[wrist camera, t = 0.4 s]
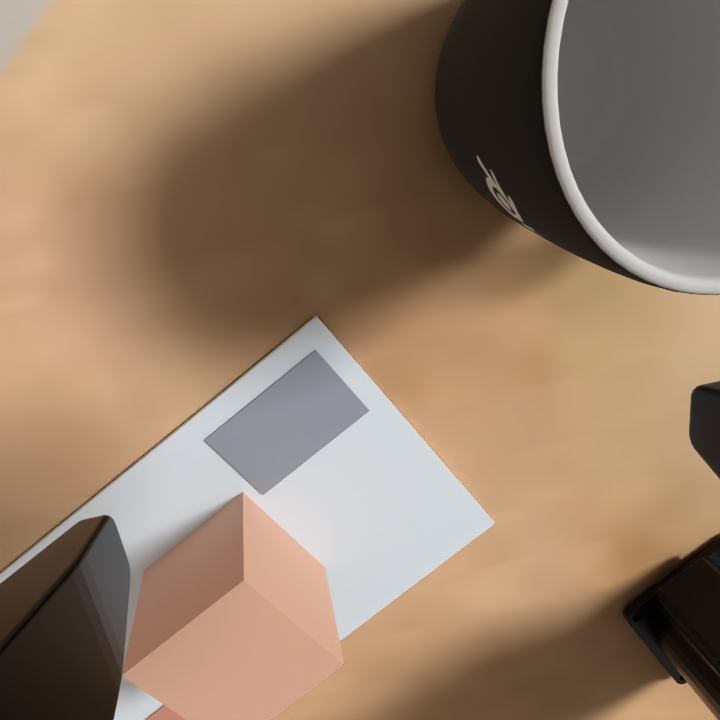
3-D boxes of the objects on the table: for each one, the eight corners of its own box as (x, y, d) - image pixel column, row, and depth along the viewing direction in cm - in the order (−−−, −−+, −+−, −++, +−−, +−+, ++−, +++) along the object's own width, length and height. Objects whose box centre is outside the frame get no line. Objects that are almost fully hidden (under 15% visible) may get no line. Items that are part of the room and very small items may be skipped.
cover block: (325, 567, 25) (344, 664, 21) (232, 638, 26) (230, 750, 21) (242, 491, 23) (243, 580, 19) (144, 570, 24) (121, 675, 19)
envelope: (493, 520, 26) (495, 524, 26) (175, 762, 28) (174, 768, 27) (316, 315, 22) (317, 317, 21) (-53, 616, 23) (-57, 622, 23)
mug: (354, 166, 20) (454, 195, 11) (474, -130, 18) (727, -411, 9) (635, 293, 24) (891, 397, 14) (764, 59, 22) (1166, 4, 12)
